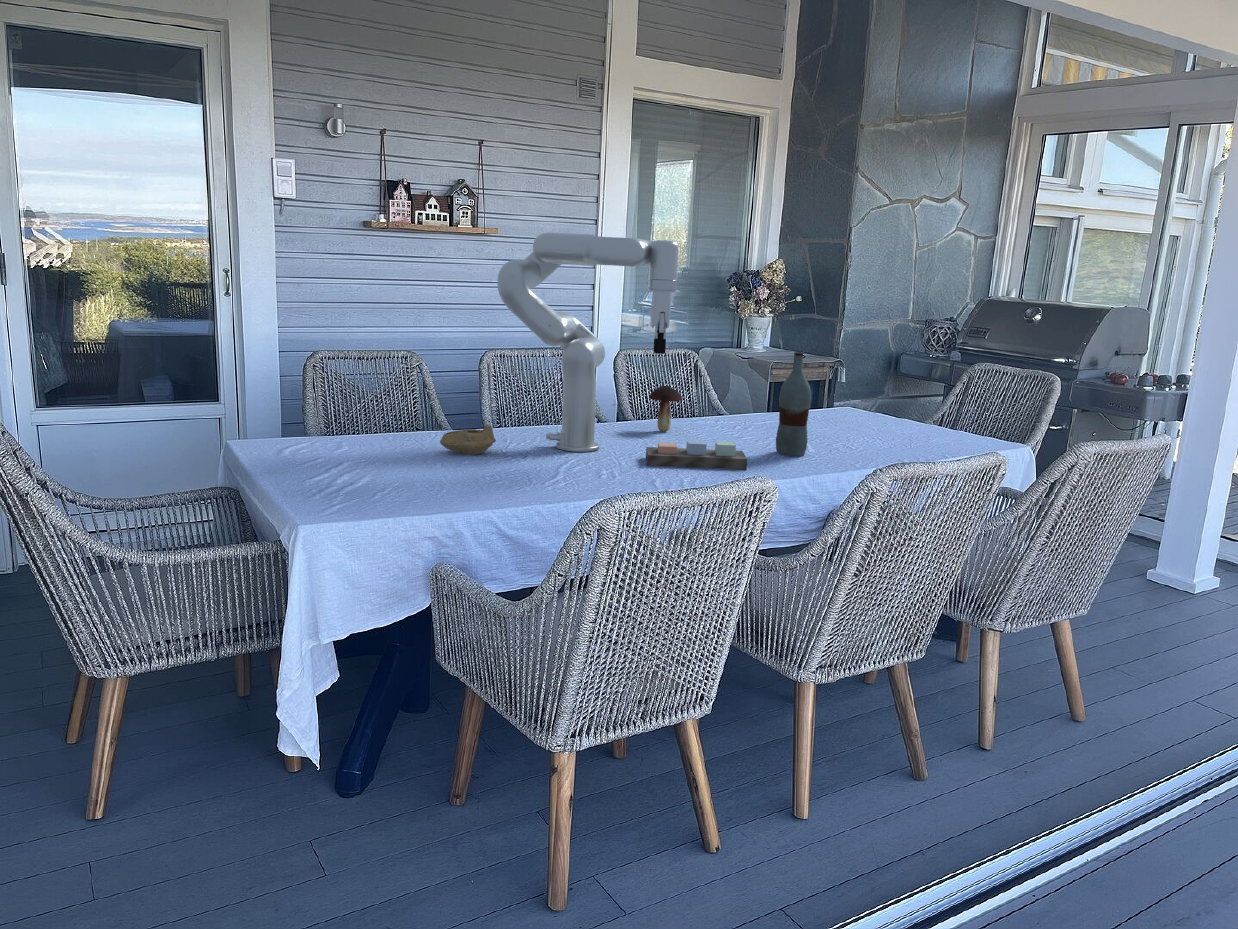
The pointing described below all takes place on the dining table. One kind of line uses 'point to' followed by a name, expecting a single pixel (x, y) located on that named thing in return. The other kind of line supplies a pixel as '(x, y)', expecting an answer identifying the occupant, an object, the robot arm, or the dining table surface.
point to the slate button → (696, 447)
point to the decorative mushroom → (665, 405)
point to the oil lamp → (469, 440)
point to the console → (696, 459)
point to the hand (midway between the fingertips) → (659, 353)
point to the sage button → (725, 448)
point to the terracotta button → (667, 448)
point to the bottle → (793, 411)
